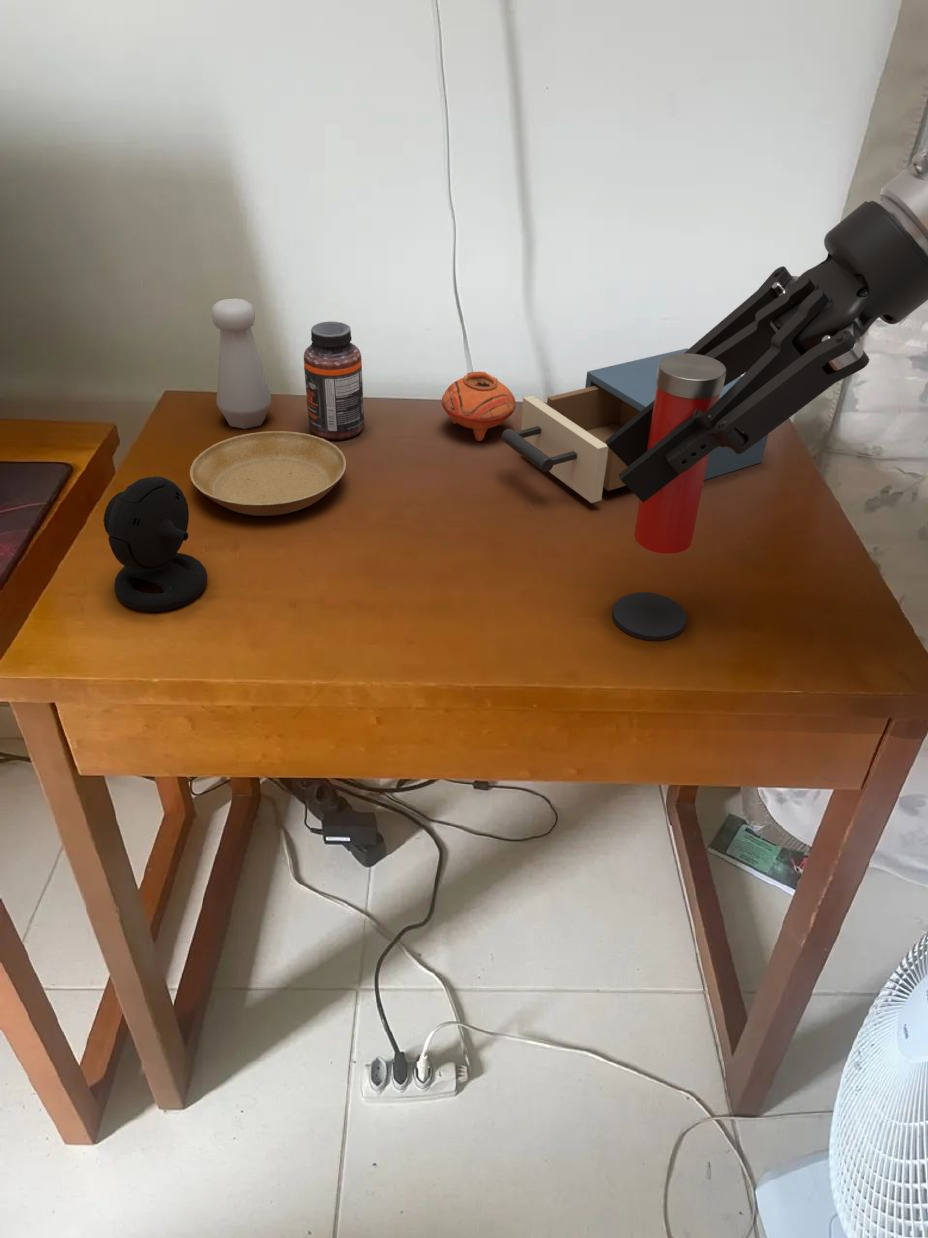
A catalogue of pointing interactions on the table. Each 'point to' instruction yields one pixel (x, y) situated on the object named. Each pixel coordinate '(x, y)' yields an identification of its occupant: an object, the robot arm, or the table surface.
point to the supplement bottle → (333, 382)
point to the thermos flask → (677, 396)
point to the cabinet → (639, 391)
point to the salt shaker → (239, 366)
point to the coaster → (649, 616)
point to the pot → (478, 402)
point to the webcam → (153, 545)
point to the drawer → (574, 438)
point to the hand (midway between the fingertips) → (624, 470)
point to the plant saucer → (268, 472)
